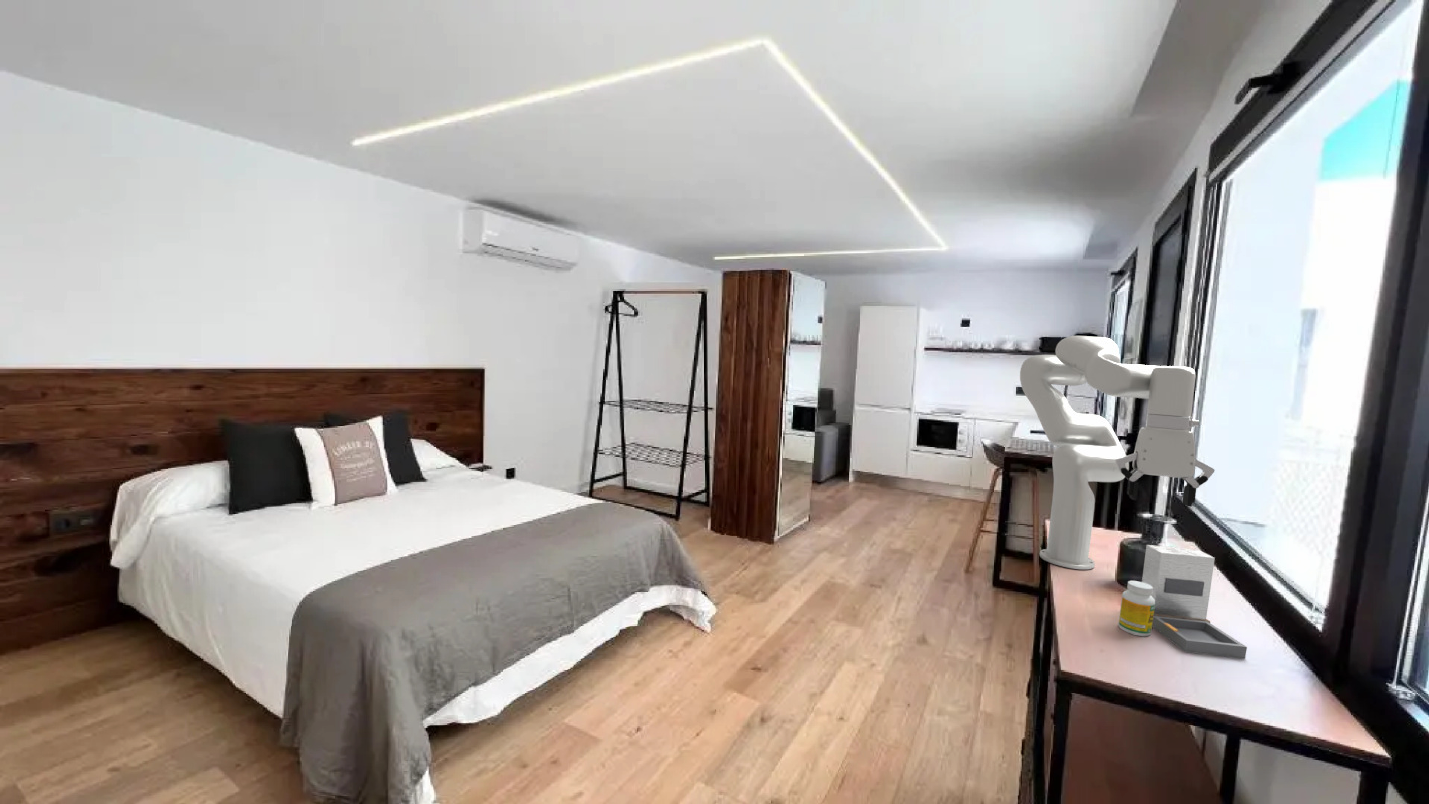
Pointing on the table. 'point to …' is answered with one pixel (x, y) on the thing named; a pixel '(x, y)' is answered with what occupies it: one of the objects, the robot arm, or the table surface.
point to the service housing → (1179, 581)
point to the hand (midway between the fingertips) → (1159, 501)
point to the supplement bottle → (1137, 609)
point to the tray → (1198, 637)
